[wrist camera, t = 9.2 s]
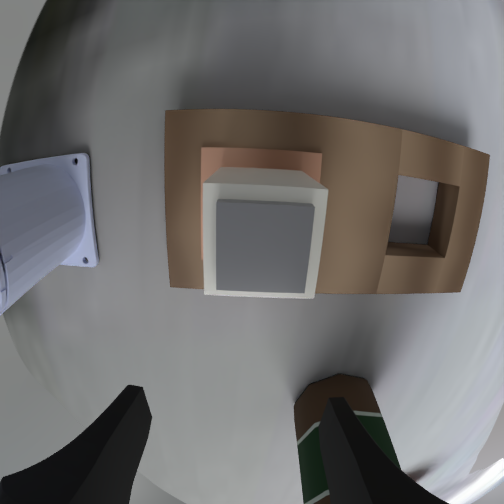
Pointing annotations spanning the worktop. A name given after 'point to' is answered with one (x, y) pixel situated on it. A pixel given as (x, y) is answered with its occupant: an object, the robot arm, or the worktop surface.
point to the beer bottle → (309, 419)
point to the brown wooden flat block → (331, 194)
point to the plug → (262, 232)
